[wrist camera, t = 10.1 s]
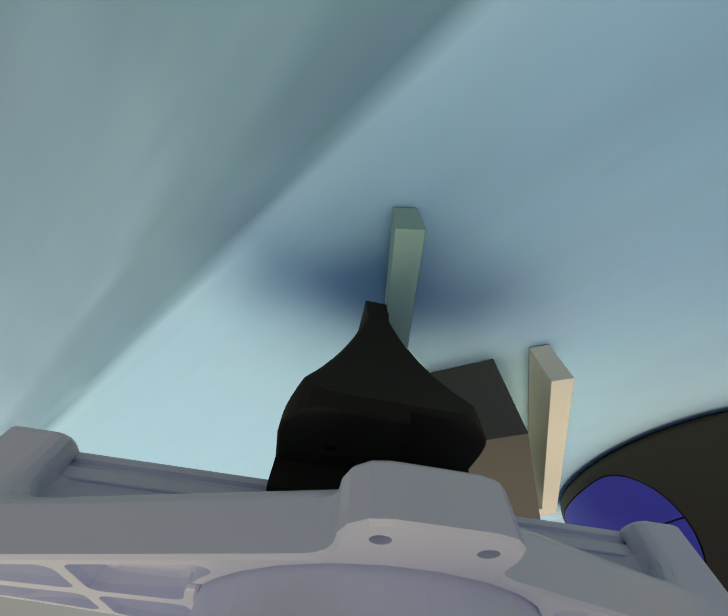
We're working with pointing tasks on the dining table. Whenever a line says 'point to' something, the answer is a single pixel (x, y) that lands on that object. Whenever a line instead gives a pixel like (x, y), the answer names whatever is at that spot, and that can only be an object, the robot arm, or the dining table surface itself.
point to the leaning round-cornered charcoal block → (663, 487)
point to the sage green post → (403, 269)
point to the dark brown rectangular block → (497, 433)
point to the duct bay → (548, 422)
